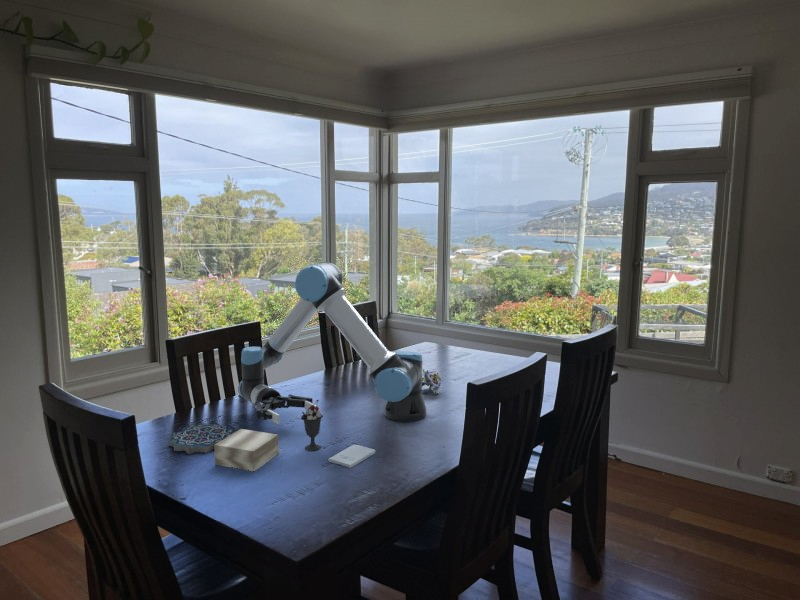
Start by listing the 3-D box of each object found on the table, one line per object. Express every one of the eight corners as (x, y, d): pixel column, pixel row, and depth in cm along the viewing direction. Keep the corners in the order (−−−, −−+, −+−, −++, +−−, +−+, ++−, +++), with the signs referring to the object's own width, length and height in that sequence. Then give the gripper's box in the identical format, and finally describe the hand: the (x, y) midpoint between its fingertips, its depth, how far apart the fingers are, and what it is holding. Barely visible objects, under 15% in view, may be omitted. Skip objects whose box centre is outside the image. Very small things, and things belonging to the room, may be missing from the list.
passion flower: (435, 407, 232) (438, 389, 224) (409, 400, 234) (411, 382, 226) (442, 385, 240) (444, 367, 232) (416, 379, 242) (418, 361, 233)
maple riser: (278, 453, 174) (278, 434, 173) (254, 471, 162) (253, 451, 161) (241, 447, 178) (241, 428, 177) (215, 464, 166) (214, 444, 165)
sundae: (327, 445, 180) (326, 398, 178) (317, 453, 174) (316, 405, 172) (308, 442, 182) (307, 396, 180) (298, 450, 176) (297, 403, 174)
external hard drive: (375, 454, 175) (350, 469, 165) (353, 448, 179) (328, 463, 169) (375, 449, 175) (350, 464, 164) (353, 443, 179) (328, 457, 169)
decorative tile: (232, 452, 175) (232, 445, 175) (163, 456, 172) (162, 449, 172) (239, 428, 195) (239, 421, 194) (177, 431, 191) (177, 424, 191)
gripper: (298, 401, 208) (331, 417, 192) (232, 416, 192) (262, 435, 176) (297, 380, 206) (330, 395, 190) (231, 394, 190) (261, 411, 174)
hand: (297, 414), depth 183 cm, fingers open, 13 cm apart
